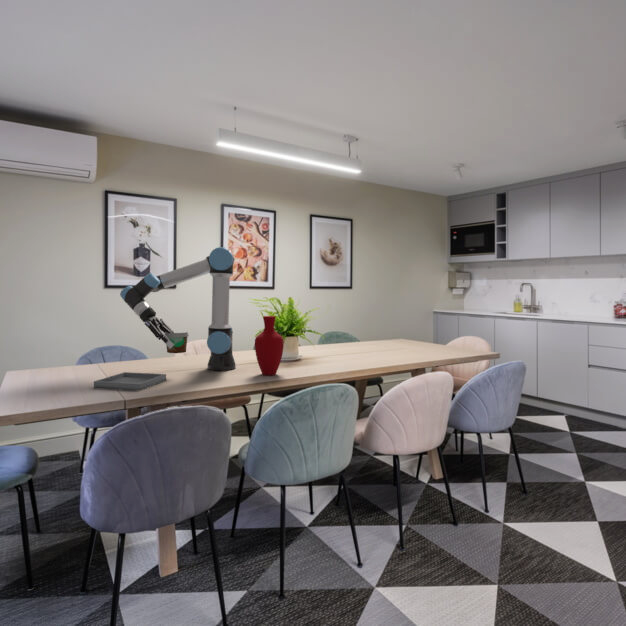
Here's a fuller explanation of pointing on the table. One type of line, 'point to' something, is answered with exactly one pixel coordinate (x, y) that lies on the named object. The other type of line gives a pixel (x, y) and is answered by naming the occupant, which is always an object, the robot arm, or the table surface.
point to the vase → (269, 347)
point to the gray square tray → (130, 381)
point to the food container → (177, 342)
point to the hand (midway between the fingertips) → (175, 345)
